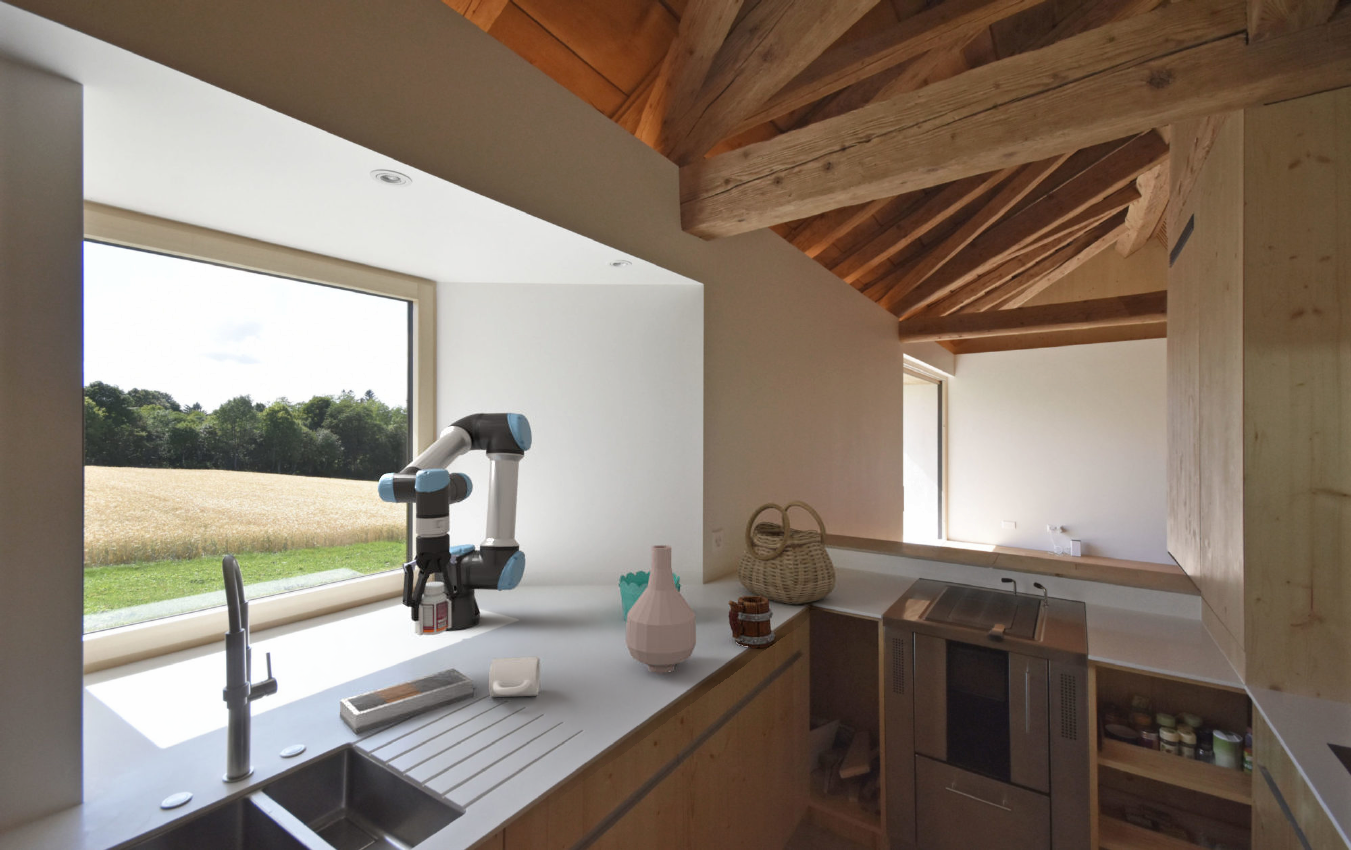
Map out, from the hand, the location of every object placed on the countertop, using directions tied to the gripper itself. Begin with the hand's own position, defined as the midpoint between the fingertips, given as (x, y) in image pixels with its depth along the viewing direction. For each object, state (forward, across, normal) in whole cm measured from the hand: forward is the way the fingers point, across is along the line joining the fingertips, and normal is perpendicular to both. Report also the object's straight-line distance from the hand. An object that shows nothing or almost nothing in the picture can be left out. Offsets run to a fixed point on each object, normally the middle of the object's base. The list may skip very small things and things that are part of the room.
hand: (433, 629), depth 146 cm
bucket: (+13, +68, -2) cm, 69 cm away
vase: (+11, +42, -35) cm, 56 cm away
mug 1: (+11, +7, -24) cm, 28 cm away
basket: (+13, +120, -17) cm, 122 cm away
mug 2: (+12, +72, -39) cm, 83 cm away
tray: (+11, -11, -13) cm, 20 cm away
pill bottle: (+1, 0, 0) cm, 1 cm away
